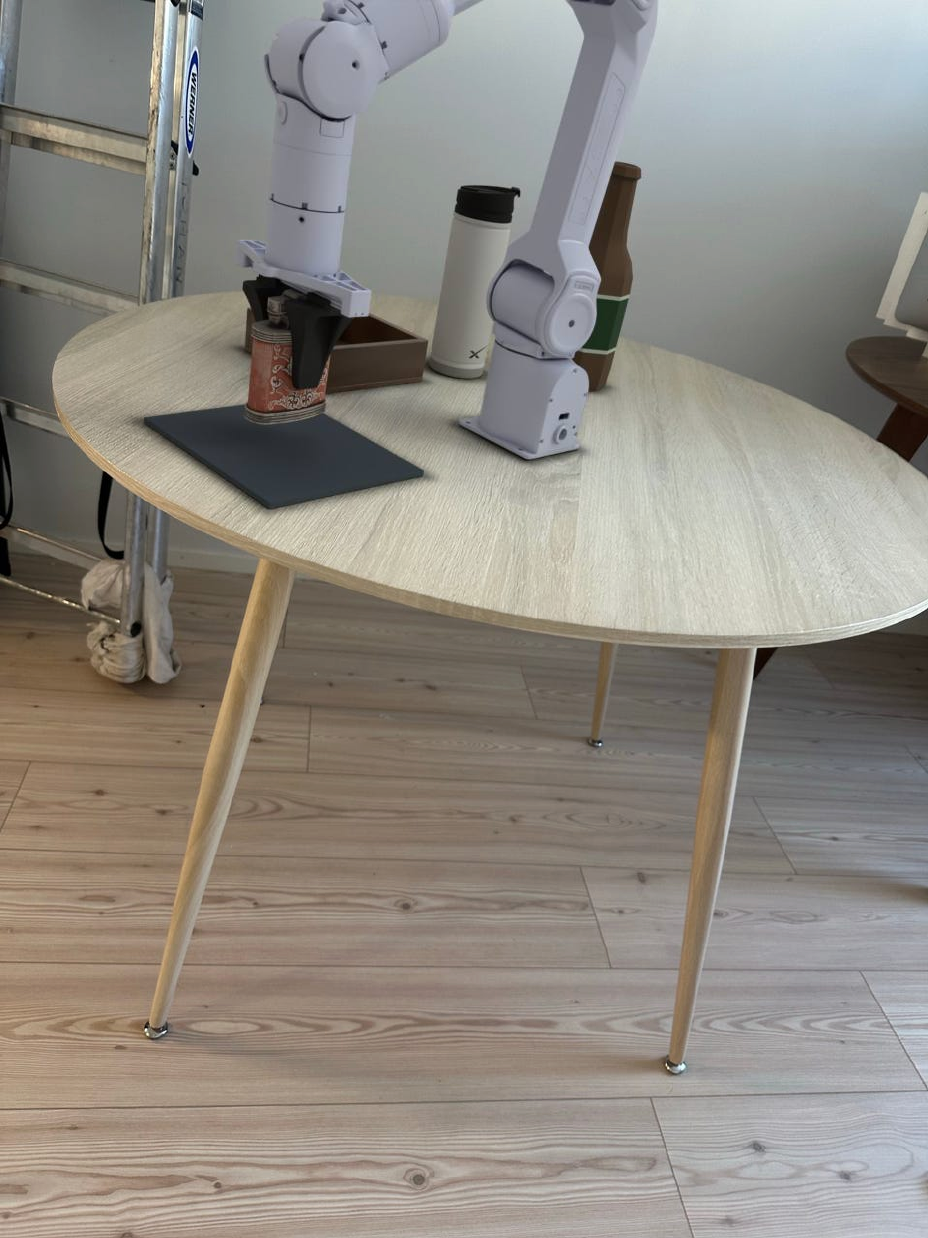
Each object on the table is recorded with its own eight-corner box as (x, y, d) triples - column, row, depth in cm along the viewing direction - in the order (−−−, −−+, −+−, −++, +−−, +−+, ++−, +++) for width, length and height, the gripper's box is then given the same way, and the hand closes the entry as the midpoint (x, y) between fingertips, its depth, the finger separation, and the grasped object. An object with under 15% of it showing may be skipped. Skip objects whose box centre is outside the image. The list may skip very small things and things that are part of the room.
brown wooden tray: (422, 381, 107) (428, 340, 105) (323, 393, 98) (328, 349, 95) (343, 341, 114) (347, 302, 112) (244, 349, 105) (246, 307, 103)
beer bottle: (604, 378, 121) (659, 167, 109) (606, 396, 114) (664, 174, 102) (542, 365, 121) (590, 153, 109) (541, 383, 114) (591, 159, 102)
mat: (423, 475, 85) (424, 470, 84) (269, 509, 74) (269, 503, 73) (296, 402, 94) (296, 397, 94) (143, 422, 83) (143, 416, 83)
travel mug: (485, 383, 110) (522, 193, 100) (427, 372, 110) (458, 180, 100) (485, 367, 116) (520, 185, 106) (430, 357, 115) (460, 173, 105)
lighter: (262, 428, 79) (275, 302, 74) (234, 412, 80) (244, 288, 75) (334, 412, 85) (350, 295, 79) (306, 398, 86) (321, 282, 81)
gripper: (207, 179, 75) (199, 353, 82) (325, 227, 67) (306, 416, 74) (282, 183, 80) (269, 348, 87) (401, 228, 72) (376, 406, 79)
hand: (290, 379), depth 81 cm, fingers closed on lighter, 3 cm apart
